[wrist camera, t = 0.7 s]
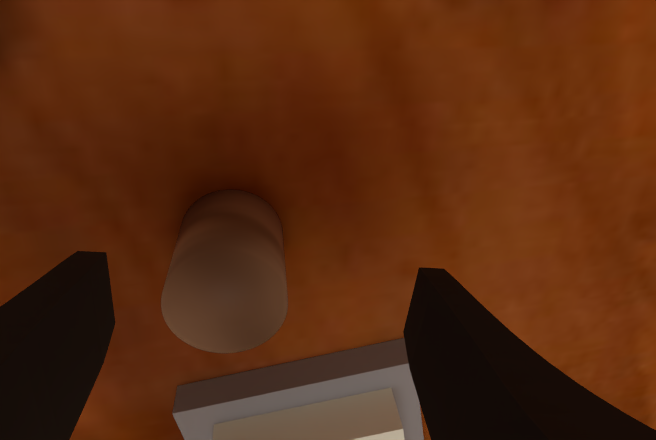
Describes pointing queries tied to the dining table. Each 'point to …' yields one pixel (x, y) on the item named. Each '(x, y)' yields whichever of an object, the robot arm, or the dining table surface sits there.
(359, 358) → the tower base
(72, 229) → the dining table surface
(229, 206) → the walnut cylinder
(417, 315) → the robot arm
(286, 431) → the tower top
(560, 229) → the dining table surface
